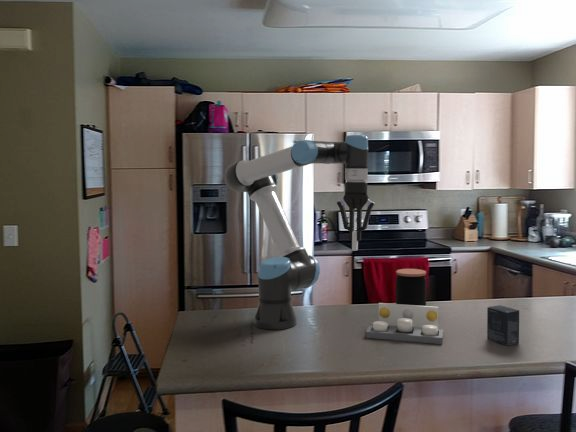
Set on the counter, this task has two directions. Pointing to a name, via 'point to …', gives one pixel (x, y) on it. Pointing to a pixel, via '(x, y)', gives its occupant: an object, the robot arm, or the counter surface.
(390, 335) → the board
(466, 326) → the counter surface
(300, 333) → the counter surface
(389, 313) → the pattern card
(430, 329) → the button right
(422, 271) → the coffee jar
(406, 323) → the button mid
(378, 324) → the button left
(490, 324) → the box
